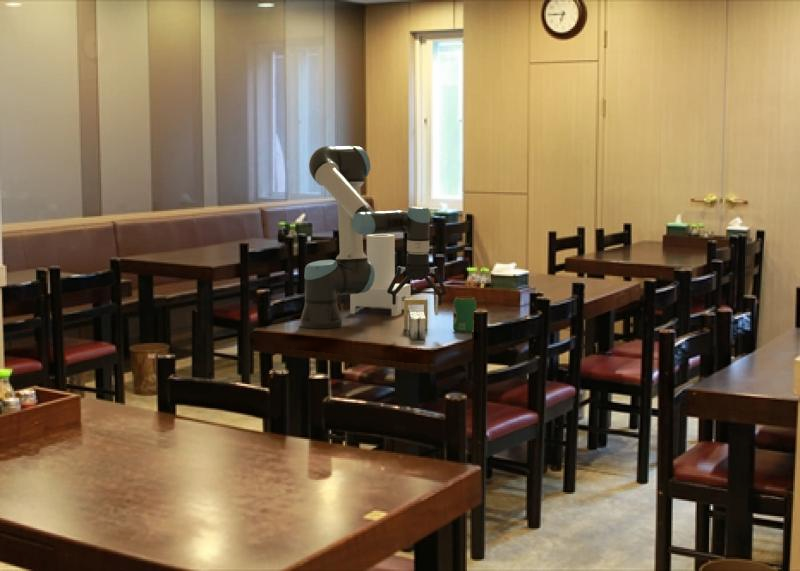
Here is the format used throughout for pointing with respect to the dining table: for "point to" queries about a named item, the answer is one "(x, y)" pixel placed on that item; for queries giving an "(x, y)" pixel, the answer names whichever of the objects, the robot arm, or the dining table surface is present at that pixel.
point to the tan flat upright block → (414, 302)
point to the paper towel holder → (381, 276)
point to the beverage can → (463, 314)
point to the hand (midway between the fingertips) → (416, 314)
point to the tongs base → (416, 310)
